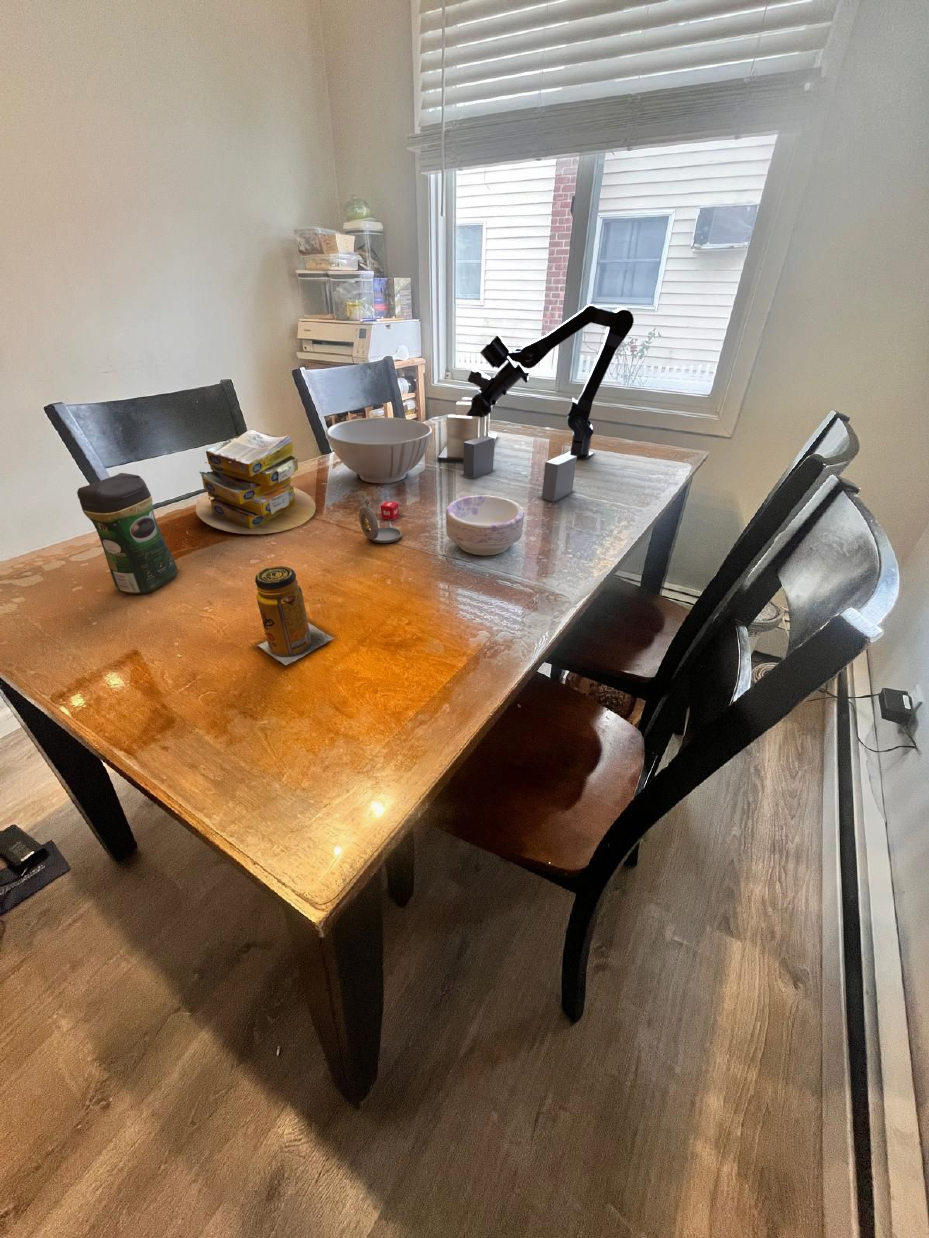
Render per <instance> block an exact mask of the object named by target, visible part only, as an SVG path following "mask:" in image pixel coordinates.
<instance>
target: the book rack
mask: <svg viewBox="0 0 929 1238" xmlns="http://www.w3.org/2000/svg"><path fill="white" fill-rule="evenodd" d="M472 398H473V397H462V398H461V402H471V400H472ZM490 420H491V412H490V413H489V414H488V415H487V416H486V436H489V437H493V438H495V441H496V440H497V438H498V433H494V432H490V424H491V423H490V422H491V421H490ZM479 429H480V417H476V416H457V415H456V414H454V415H453V414H448V415H447V416H446V444H445V446H444V448H443V449H442V450H441V452H440V453H439V455H438V456H437V462H439V463H440V462H441V463H442V462H444V463H458V464H463V457H464V442H466V441H469V440H472V439H475V438H478V437H479Z"/></svg>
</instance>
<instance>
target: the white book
mask: <svg viewBox="0 0 929 1238" xmlns="http://www.w3.org/2000/svg"><path fill="white" fill-rule="evenodd" d="M470 409H471V402H462V401H457V402H456V403H455V415H457V416H466V414H467V413H468V411H469V410H470ZM481 436H486V416H485V417H482V418H480V429H479V437H481Z"/></svg>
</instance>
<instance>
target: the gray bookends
mask: <svg viewBox="0 0 929 1238" xmlns="http://www.w3.org/2000/svg"><path fill="white" fill-rule="evenodd" d="M495 442H496V440H495V438H493V437H489V436H481V437H478V438H475V439H472V440H469V441H466V442H464V457H463V463H462V464H463V468H462V472H463V473H462V476H463V477H465V478H469V479H476V478H479V477H482V476H484V475H486V474H488V473H491V472H494V466H495V465H494V461H495V444H496V443H495ZM577 459H578V458H577V456H573V455H569V454H566V453H562V454H559V455H558V456H555V457H553V458H551V459H548V460H546V461H545V462H544V473H543V480H542V490H541V491H542V492H541V499H542V500H547V501H550V502H556V501H558V500H560V499H561V498H564V497H565V496H567V495H569V494H571V493H573V488H574V481H575V474H576V467H577Z"/></svg>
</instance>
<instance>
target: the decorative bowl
mask: <svg viewBox="0 0 929 1238" xmlns="http://www.w3.org/2000/svg"><path fill="white" fill-rule="evenodd" d="M325 434H326V438H327V440H328V443H329V445H330V447H331V449H332V450H333V452H334V454H335V455H336V457H337V459H339V461H340V462H341V463H342V464H343V465H344V466H345V467H346V468H348V469H349V470H351V472H353V473H355V474H356V475H359V479H361V480H362V481H364V482H367V483H371V484H390V483H396V482H399V481H401V480H403V479H405V478H406V476H407V473H408V472H410V471H412V470H413V469H414V468H415V467H416V466H417V465H418V464H419V463H420V461H421V460H422V458H423V457H424V456H425V454H426V452H427V449H428V447H429V444H430V441H431V438H432V434H433V429H432V428H431V426H430V425H429V424H427V423H425V422H423V421H419V420H415V419H409V418H403V417H389V416H387V417H386V416H385V417H380V416H379V417H363V418H356V419H355V418H354V419H350V420H345V421H341V422H338V423H335V424H332V425H331V426H330V427H328V428H327V429H326V432H325Z"/></svg>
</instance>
